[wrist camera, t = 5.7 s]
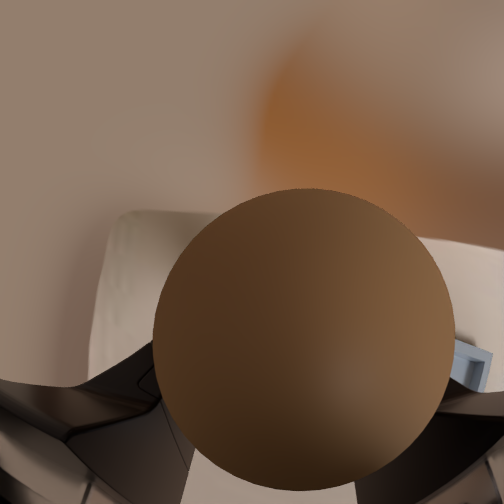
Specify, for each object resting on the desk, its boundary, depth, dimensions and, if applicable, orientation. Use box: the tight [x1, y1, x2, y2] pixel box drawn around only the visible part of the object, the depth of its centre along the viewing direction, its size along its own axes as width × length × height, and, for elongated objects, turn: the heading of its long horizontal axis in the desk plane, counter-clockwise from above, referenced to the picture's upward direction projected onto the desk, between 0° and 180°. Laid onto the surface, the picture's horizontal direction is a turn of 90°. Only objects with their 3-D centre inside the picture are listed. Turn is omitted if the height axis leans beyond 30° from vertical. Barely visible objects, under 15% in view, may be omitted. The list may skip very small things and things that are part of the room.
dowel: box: [153, 189, 455, 491], centre depth 9 cm, size 4×4×13 cm
